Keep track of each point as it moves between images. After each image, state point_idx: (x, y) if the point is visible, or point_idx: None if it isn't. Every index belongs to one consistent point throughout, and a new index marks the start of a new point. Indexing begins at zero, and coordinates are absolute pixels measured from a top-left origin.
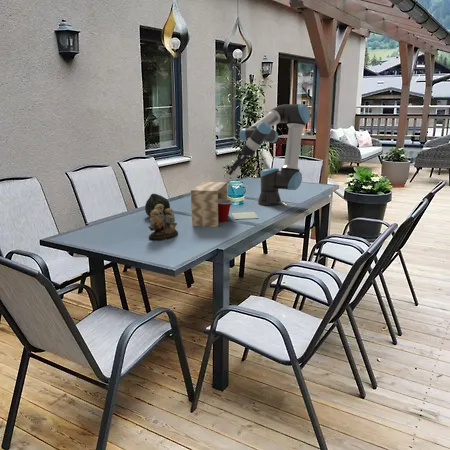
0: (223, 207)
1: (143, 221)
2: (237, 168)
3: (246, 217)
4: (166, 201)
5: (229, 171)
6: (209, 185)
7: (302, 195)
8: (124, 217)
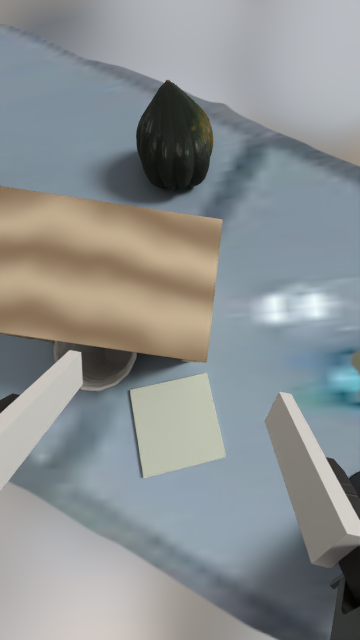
0: None
1: (124, 151)
2: (302, 500)
3: (146, 431)
4: (166, 152)
5: (11, 412)
6: (101, 262)
7: None
8: None
